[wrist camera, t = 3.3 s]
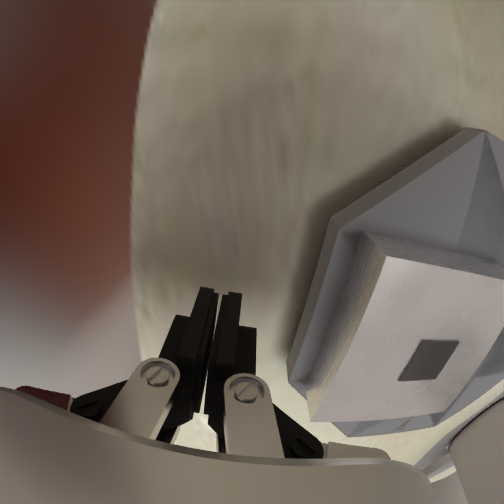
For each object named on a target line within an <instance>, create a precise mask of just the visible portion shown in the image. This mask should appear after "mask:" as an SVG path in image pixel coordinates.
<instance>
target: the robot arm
mask: <svg viewBox="0 0 504 504" xmlns="http://www.w3.org/2000/svg"><path fill="white" fill-rule="evenodd" d="M218 296H219V293H214V289H211V288H205V287H200V290H199V293H198V296H197V298H196V301H195V304H194V307H193V310H192V313H191V316H190V317H187V316H181V315H176V316H175V318H174V320H173V323H172V325H171V328H170V330H169V332H168V335H167V337H166V340H165V342H164V345H163V347H162V350H161V352H160V355H159V357H158V358H150V359H146V360H145V361H143V362H141V363H140V364H139V365H138V366H137V368H136V369H135V371H134V372H133V373H132V375H131V376H130V378H129V379H128V380H126V381H123V382H120V383H117V384H114V385H111V386H109V387H105V388H102V389H100V390H96V391H93V392H90V393H87V394H84V395H81V396H80V397H77V398H72V396H71V395H69V394H64V393H59V392H54V391H49V390H44V389H40V388H35V387H31V386H21V387H18V388H17V389H15V390H14V389H11V388H6V387H0V504H439V503H438V500H437V497H436V494H435V492H434V490H433V487H432V485H431V483H430V481H429V480H428V478H427V477H426V475H425V474H424V473H423V472H422V471H421V470H420V469H418V468H417V467H415V466H412V465H410V464H407V463H404V462H399V461H395V460H391V458H390V457H389V455H388V454H387V453H386V452H385V451H383V450H381V449H377V448H369V447H361V446H354V445H347V444H341V443H335V442H328V444H325V443H321V442H320V441H319V440H318V439H317V438H316V437H315V436H313V435H312V434H311V433H309V432H308V431H307V430H306V429H304V428H303V427H302V426H300V425H299V424H298V423H297V422H295V421H294V420H293V419H292V418H290V417H289V416H288V415H287V414H285V413H284V412H283V411H282V410H280V409H279V408H278V407H277V406H276V405H274V404H273V403H272V399H271V394H270V390H269V387H268V385H267V384H266V382H265V381H264V380H263V379H261V378H260V377H258V376H256V336H257V329H256V328H252V327H245V326H239V318H240V309H241V299H242V294H241V293H235V292H229V293H228V295H225V294H223V296H222V301H221V305H220V310H219V315H218V320H217V324H216V329H215V334H214V328H215V320H216V312H217V304H218ZM213 337H214V339H213ZM207 371H208V374H207ZM206 376H207V384H206V394H205V405H204V414H207V415H209V418H208V425H209V426H210V427H211V428H212V429H213V430H214V431H215V432H216V448H217V452H212V451H206V450H200V449H194V448H189V447H184V446H179V445H174V442H175V440H176V438H177V436H178V433H179V431H180V427H181V425H182V424H184V423H186V422H188V421H190V419H191V420H192V419H193V414H194V412H196V413H199V412H200V407H201V401H202V396H203V391H204V386H205V381H206Z"/></svg>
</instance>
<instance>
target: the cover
mask: <svg viewBox="0 0 504 504" xmlns="http://www.w3.org/2000/svg"><path fill="white" fill-rule="evenodd" d="M503 327H504V267H502V266H501V265H500V264H499V263H497V262H493V261H489V260H486V259H482V258H478V257H475V256H471V255H467V254H463V253H459V252H455V251H451V250H447V249H443V248H439V247H435V246H431V245H427V244H423V243H419V242H414V241H410V240H406V239H401V238H397V237H392V236H388V235H383V234H379V233H374V232H369V231H365V230H363V231H362V234H361V238H360V241H359V244H358V248H357V251H356V254H355V257H354V260H353V263H352V267H351V270H350V273H349V276H348V279H347V282H346V284H345V287H344V290H343V293H342V296H341V299H340V301H339V304H338V307H337V310H336V312H335V315H334V318H333V320H332V323H331V325H330V328H329V331H328V333H327V336H326V338H325V341H324V343H323V346H322V348H321V350H320V353H319V355H318V358H317V360H316V362H315V365H314V367H313V369H312V372H311V374H310V376H309V378H308V381H307V383H306V385H305V387H306V394H307V402H308V409H309V417H310V422H349V421H370V420H384V419H394V418H404V417H412V416H419V415H426V414H432V413H438V412H444V411H445V410H446V409H447V408H448V406H449V405H450V404H451V403H452V402H453V400H454V399H455V398H456V397H457V395H458V394H459V393H460V392H461V390H462V389H463V388H464V386H465V385H466V384H467V382H468V381H469V380H470V378H471V377H472V376H473V374H474V373H475V371H476V370H477V369H478V367H479V366H480V364H481V363H482V361H483V360H484V358H485V357H486V355H487V354H488V352H489V350H490V349H491V347H492V346H493V344H494V342H495V341H496V339H497V337H498V336H499V334H500V332H501V331H502V329H503Z"/></svg>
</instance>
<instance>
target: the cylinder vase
mask: <svg viewBox="0 0 504 504" xmlns="http://www.w3.org/2000/svg"><path fill="white" fill-rule="evenodd" d="M449 451H450V455H451V457H452V460H453V462H454V465H455V468H456V470H457V473H458V475H459V479H460V481H461V484H462V487H463V490H464V493H465V496H466V499H467V502H468V504H504V399H503V400H501V401H499V402H498V403H496V404H495V405H493V406H492V407H490V408H489V409H487V410H486V411H485V412H483V413H482V414H481V415H480V416H478V417H477V418H476V419H475V420H473V421H472V422H471V423H470V424H469V425H468V426H467V427H465V428H464V429H463V430H462V431H461V432H460V433H459V434H458V436H457V437H456V438H455V439H454V440H453V442H452V444H451V446H450V450H449Z"/></svg>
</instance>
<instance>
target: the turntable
mask: <svg viewBox="0 0 504 504" xmlns="http://www.w3.org/2000/svg"><path fill="white" fill-rule="evenodd" d="M363 230H365V231H369V232H374V233H379V234H383V235H388V236H392V237H397V238H401V239H406V240H410V241H414V242H419V243H423V244H427V245H431V246H435V247H439V248H443V249H447V250H451V251H455V252H459V253H463V254H467V255H471V256H475V257H478V258H482V259H486V260H489V261H493V262H497V263H499V264H500V265H501V266H502V267H504V142H503V141H502V140H500V139H499V138H497V137H496V136H494V135H493V134H491V133H489V132H488V131H486V130H482V129H473V128H464V129H463V130H461V131H460V132H458V133H457V134H455V135H454V136H452V137H451V138H450V139H448V140H447V141H445V142H444V143H442V144H441V145H439V146H438V147H436V148H435V149H433V150H432V151H430V152H429V153H427V154H426V155H424V156H423V157H421V158H420V159H418V160H417V161H415V162H414V163H412V164H410V165H409V166H407V167H406V168H404V169H403V170H401V171H400V172H398V173H397V174H395V175H394V176H392V177H391V178H389V179H388V180H386V181H385V182H383V183H382V184H380V185H379V186H377V187H376V188H374V189H372V190H371V191H369V192H368V193H366V194H365V195H363V196H362V197H360V198H359V199H357V200H356V201H354V202H352V203H351V204H349V205H348V206H346V207H345V208H343V209H342V210H340V211H339V212H337V213H335V214H334V215H332V216H331V217H330V218H329V222H328V226H327V230H326V234H325V238H324V242H323V245H322V249H321V253H320V256H319V260H318V263H317V267H316V270H315V274H314V277H313V281H312V284H311V288H310V291H309V294H308V298H307V301H306V304H305V307H304V311H303V314H302V317H301V320H300V323H299V326H298V329H297V333H296V336H295V339H294V342H293V345H292V348H291V351H290V353H289V356H288V359H287V362H286V363H287V374H288V383H289V384H290V385H291V386H292V387H293V388H295V389H296V390H297V391H298V392H299V393H300V394H301V395H302V396H303V397H304V398H305V399H306V400H307V394H306V387H305V385H306V383H307V381H308V378H309V376H310V374H311V372H312V369H313V367H314V365H315V362H316V360H317V358H318V355H319V353H320V350H321V348H322V346H323V343H324V341H325V338H326V336H327V333H328V331H329V328H330V325H331V323H332V320H333V318H334V315H335V312H336V310H337V307H338V304H339V301H340V299H341V296H342V293H343V290H344V287H345V284H346V282H347V279H348V276H349V273H350V270H351V267H352V263H353V260H354V257H355V254H356V251H357V248H358V244H359V241H360V238H361V234H362V231H363ZM502 379H504V327H503V329H502V331H501V332H500V334H499V336H498V337H497V339H496V341H495V342H494V344H493V346H492V347H491V349H490V350H489V352H488V354H487V355H486V357H485V358H484V360H483V361H482V363H481V364H480V366H479V367H478V369H477V370H476V371H475V373H474V374H473V376H472V377H471V378H470V380H469V381H468V382H467V384H466V385H465V386H464V388H463V389H462V390H461V392H460V393H459V394H458V395H457V397H456V398H455V399H454V400H453V402H452V403H451V404H450V405H449V406H448V408H447V409H446V410H445V411H444V412H438V413H432V414H426V415H419V416H412V417H404V418H394V419H384V420H370V421H349V422H331V423H332V424H333V425H335V426H336V427H337V428H338V429H339V430H340V431H341V432H342V433H344V434H345V435H346V436H347V437H361V436H373V435H383V434H392V433H399V432H406V431H413V430H419V429H424V428H430V427H435V426H436V425H438V424H440V423H441V422H443V421H445V420H446V419H448V418H449V417H451V416H453V415H454V414H456V413H457V412H459V411H460V410H462V409H463V408H465V407H466V406H468V405H469V404H471V403H472V402H474V401H475V400H476V399H478V398H479V397H480V396H482V395H483V394H485V393H486V392H487V391H489V390H490V389H491V388H492V387H494V386H495V385H496V384H497V383H499V382H500V381H501V380H502Z"/></svg>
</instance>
